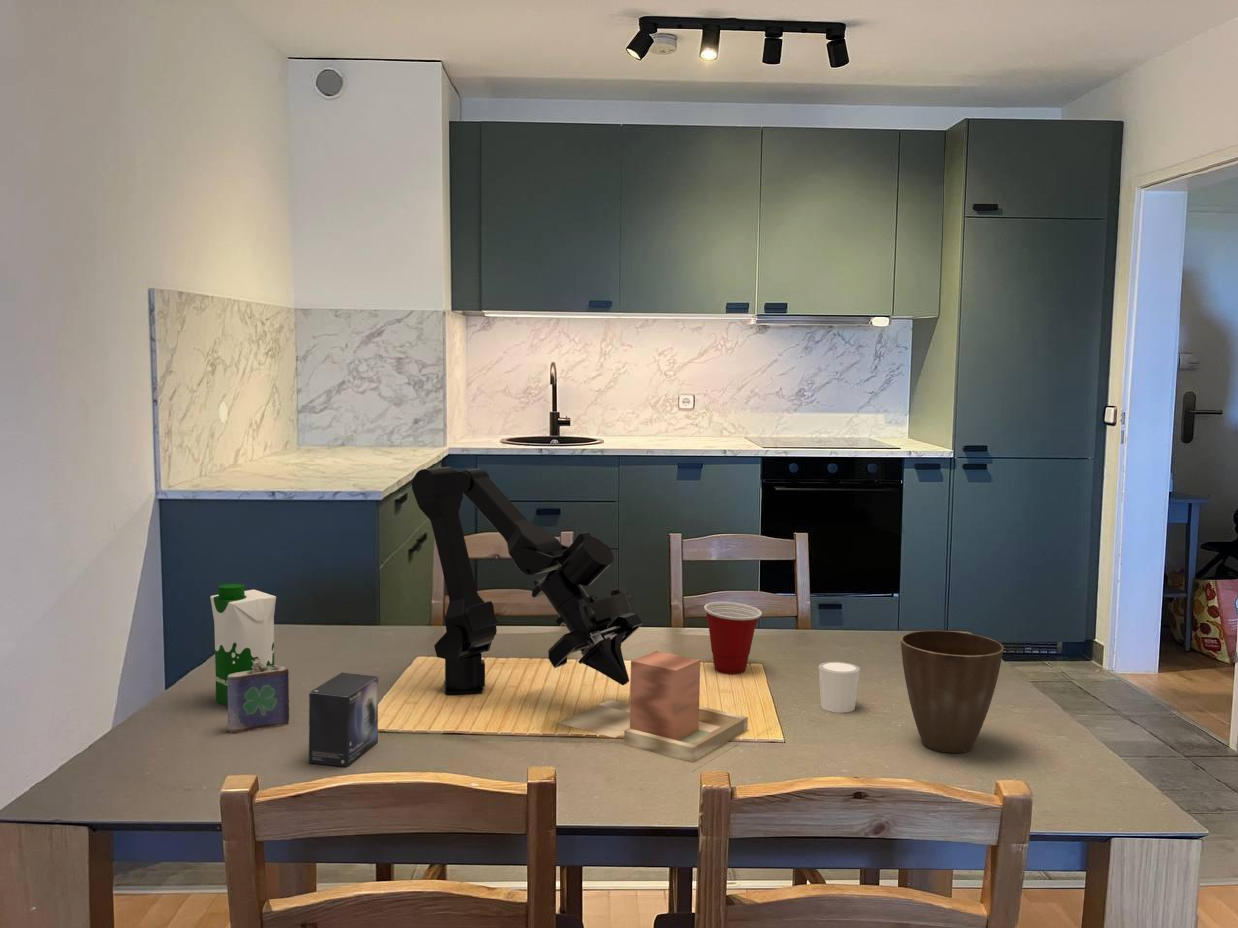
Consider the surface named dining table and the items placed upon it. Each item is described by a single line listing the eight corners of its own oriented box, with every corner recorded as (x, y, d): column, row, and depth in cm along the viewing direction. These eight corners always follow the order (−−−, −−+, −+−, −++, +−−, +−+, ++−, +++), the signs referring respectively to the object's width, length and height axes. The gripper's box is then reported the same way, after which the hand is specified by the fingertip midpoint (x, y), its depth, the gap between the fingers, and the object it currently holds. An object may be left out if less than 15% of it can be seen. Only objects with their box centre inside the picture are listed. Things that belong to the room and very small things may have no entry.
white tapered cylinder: (862, 704, 181) (864, 664, 181) (853, 716, 175) (855, 674, 174) (822, 698, 184) (824, 658, 183) (812, 709, 178) (813, 669, 177)
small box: (349, 768, 150) (348, 695, 149) (306, 764, 151) (305, 692, 150) (380, 742, 160) (380, 674, 159) (340, 738, 162) (340, 671, 161)
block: (629, 731, 162) (630, 660, 161) (654, 719, 168) (656, 650, 167) (674, 743, 157) (675, 670, 156) (698, 729, 163) (700, 659, 162)
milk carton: (207, 701, 178) (204, 583, 176) (258, 689, 184) (255, 575, 182) (233, 713, 172) (230, 591, 170) (284, 701, 178) (282, 583, 176)
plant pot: (886, 726, 170) (890, 628, 169) (980, 728, 170) (985, 630, 168) (909, 761, 156) (913, 654, 154) (1012, 764, 155) (1018, 656, 154)
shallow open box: (552, 733, 165) (552, 711, 164) (613, 706, 178) (613, 686, 178) (692, 771, 150) (692, 747, 150) (747, 739, 164) (747, 716, 163)
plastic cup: (745, 682, 193) (746, 617, 191) (692, 672, 198) (693, 609, 197) (769, 668, 202) (771, 605, 201) (718, 658, 207) (719, 598, 206)
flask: (229, 734, 163) (228, 665, 162) (225, 728, 165) (224, 661, 164) (291, 724, 167) (290, 658, 166) (286, 719, 170) (285, 653, 169)
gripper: (564, 582, 160) (623, 668, 155) (634, 564, 175) (689, 641, 170) (523, 625, 165) (578, 709, 160) (594, 603, 180) (647, 679, 175)
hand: (626, 683), depth 166 cm, fingers closed
